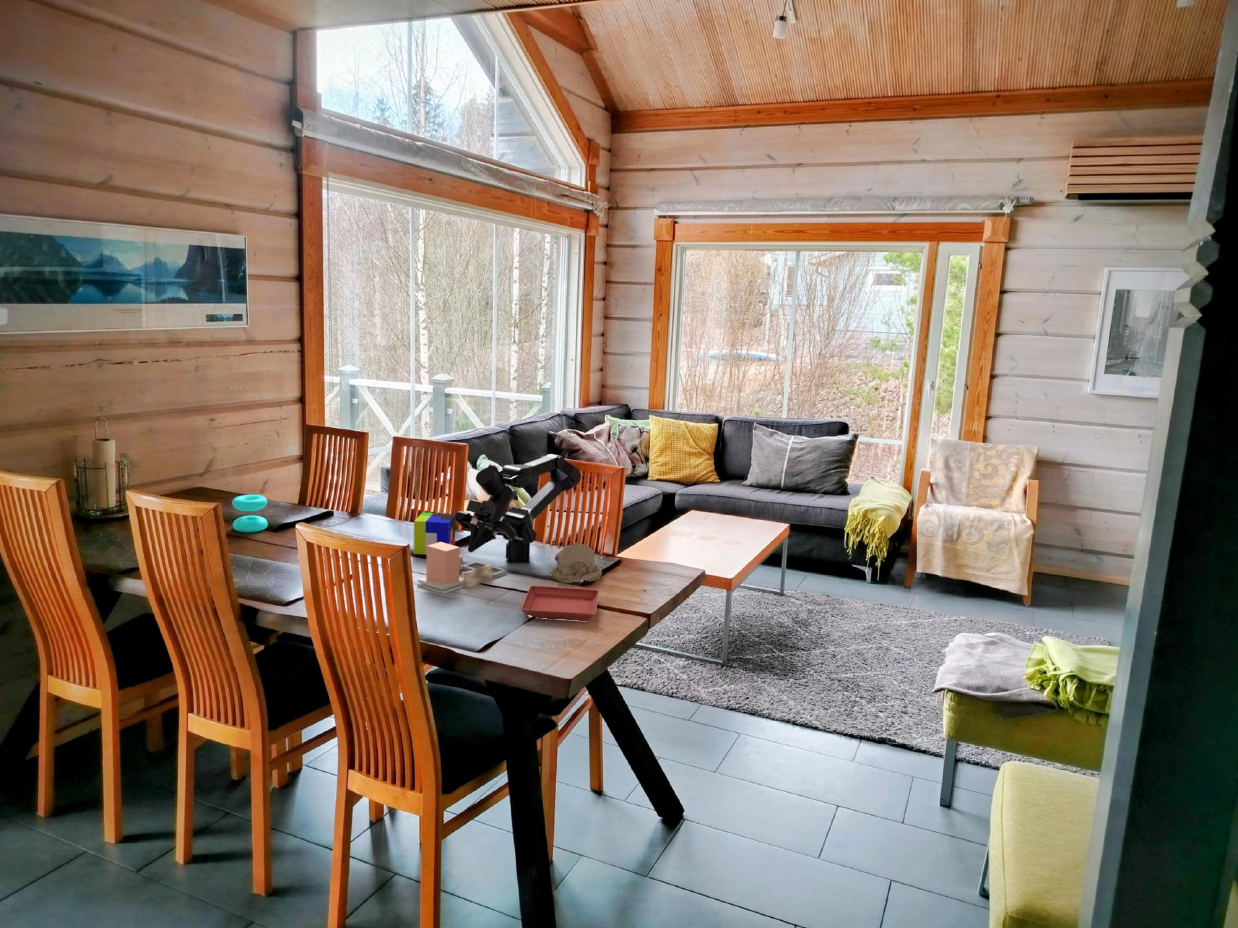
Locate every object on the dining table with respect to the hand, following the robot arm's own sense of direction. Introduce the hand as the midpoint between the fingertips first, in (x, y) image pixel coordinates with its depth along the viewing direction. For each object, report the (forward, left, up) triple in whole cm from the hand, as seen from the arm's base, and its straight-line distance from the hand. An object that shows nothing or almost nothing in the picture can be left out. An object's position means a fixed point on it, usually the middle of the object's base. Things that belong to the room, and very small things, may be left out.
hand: (469, 551), depth 237 cm
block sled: (+6, +8, -6) cm, 12 cm away
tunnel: (+1, +2, -7) cm, 7 cm away
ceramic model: (-29, -2, -7) cm, 30 cm away
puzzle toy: (+12, -24, -7) cm, 28 cm away
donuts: (+70, -41, -7) cm, 81 cm away
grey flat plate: (-4, -5, -7) cm, 9 cm away
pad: (+7, +8, -7) cm, 13 cm away
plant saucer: (-24, +24, -8) cm, 35 cm away
